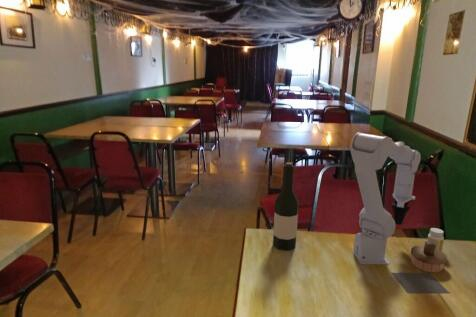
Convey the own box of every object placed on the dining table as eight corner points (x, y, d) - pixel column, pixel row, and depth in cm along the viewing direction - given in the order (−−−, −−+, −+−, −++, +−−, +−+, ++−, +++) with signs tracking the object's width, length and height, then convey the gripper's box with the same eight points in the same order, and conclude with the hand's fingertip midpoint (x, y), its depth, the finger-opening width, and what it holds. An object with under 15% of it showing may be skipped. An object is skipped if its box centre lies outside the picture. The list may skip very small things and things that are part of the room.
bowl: (420, 273, 106) (422, 262, 105) (405, 257, 114) (407, 248, 113) (448, 273, 106) (450, 262, 105) (432, 257, 115) (433, 248, 114)
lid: (410, 259, 107) (412, 246, 106) (411, 245, 115) (413, 233, 114) (447, 268, 102) (449, 254, 101) (445, 253, 111) (447, 240, 110)
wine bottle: (270, 239, 125) (274, 160, 118) (292, 239, 126) (297, 160, 119) (275, 251, 117) (279, 166, 110) (299, 250, 118) (304, 166, 111)
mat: (407, 294, 95) (407, 292, 95) (391, 273, 105) (391, 272, 105) (449, 294, 95) (450, 293, 95) (429, 273, 105) (429, 272, 105)
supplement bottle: (437, 249, 120) (441, 227, 118) (443, 256, 116) (447, 233, 114) (423, 248, 121) (426, 226, 119) (429, 255, 116) (432, 233, 114)
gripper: (416, 191, 109) (410, 230, 112) (417, 179, 121) (412, 215, 125) (392, 187, 112) (387, 225, 115) (396, 176, 125) (391, 211, 128)
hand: (398, 219), depth 120 cm, fingers open, 7 cm apart
